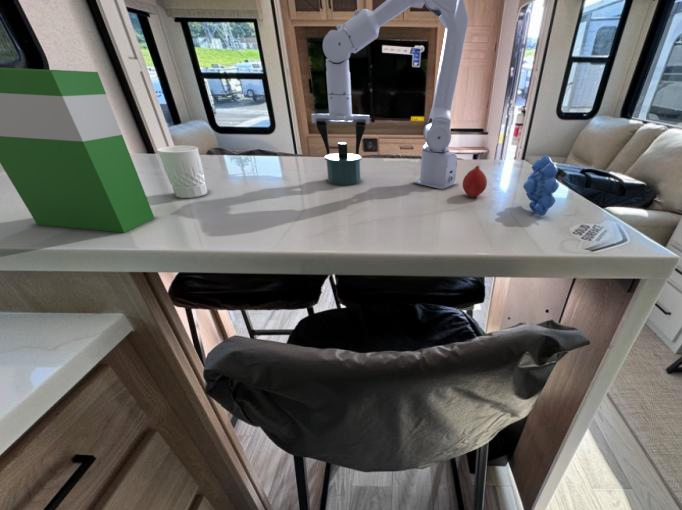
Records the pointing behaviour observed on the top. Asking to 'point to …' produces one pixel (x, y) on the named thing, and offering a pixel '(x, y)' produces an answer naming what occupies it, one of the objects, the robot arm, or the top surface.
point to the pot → (343, 173)
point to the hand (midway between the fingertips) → (342, 153)
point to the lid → (342, 155)
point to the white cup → (184, 170)
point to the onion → (474, 182)
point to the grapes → (542, 185)
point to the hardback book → (68, 151)
